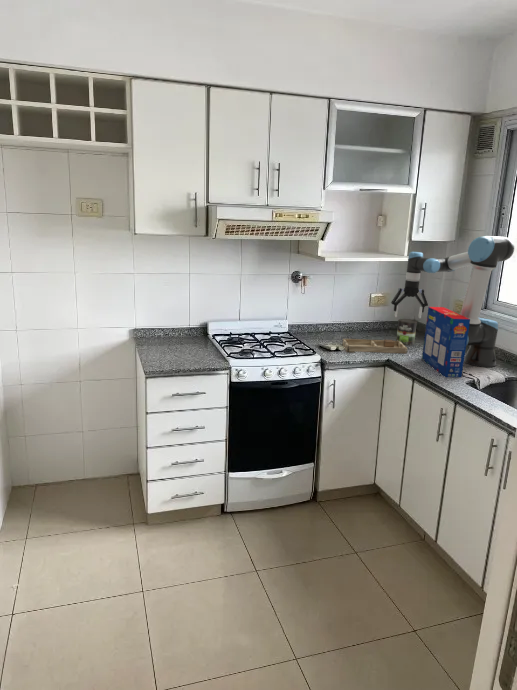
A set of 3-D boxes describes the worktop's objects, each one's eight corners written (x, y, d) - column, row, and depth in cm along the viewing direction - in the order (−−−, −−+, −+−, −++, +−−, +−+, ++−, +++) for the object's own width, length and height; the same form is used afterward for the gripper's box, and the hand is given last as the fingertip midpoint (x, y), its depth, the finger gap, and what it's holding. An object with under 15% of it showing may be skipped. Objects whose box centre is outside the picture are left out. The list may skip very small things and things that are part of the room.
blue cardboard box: (461, 377, 243) (470, 319, 235) (444, 377, 242) (453, 318, 235) (436, 360, 269) (443, 307, 262) (421, 359, 269) (428, 306, 261)
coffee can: (412, 347, 291) (415, 323, 288) (393, 345, 296) (396, 320, 292) (415, 344, 300) (418, 320, 296) (397, 341, 305) (400, 317, 301)
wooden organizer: (406, 354, 277) (407, 348, 276) (347, 352, 276) (347, 346, 275) (398, 346, 292) (399, 340, 291) (342, 344, 292) (342, 338, 291)
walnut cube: (393, 350, 282) (394, 342, 281) (385, 349, 282) (386, 341, 281) (391, 347, 286) (392, 339, 285) (383, 347, 286) (384, 339, 285)
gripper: (432, 280, 292) (427, 316, 298) (388, 278, 292) (384, 314, 297) (437, 282, 285) (431, 319, 291) (391, 280, 284) (387, 317, 290)
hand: (407, 317), depth 294 cm, fingers open, 13 cm apart
